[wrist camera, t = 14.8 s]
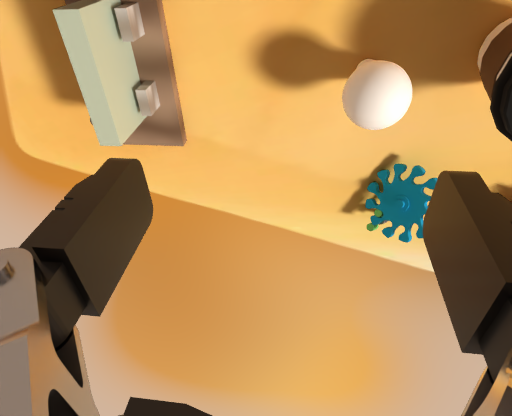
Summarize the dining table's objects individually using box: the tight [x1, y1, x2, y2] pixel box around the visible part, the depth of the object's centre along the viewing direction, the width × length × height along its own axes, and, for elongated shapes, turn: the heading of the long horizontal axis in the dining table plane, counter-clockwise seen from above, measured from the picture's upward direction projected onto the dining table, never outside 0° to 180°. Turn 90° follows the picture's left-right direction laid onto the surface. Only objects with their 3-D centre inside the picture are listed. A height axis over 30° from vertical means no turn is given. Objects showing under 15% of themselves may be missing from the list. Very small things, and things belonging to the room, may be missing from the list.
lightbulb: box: [342, 59, 412, 130], centre depth 35 cm, size 6×6×11 cm
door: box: [53, 0, 147, 146], centre depth 37 cm, size 13×4×8 cm, turn 2°
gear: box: [365, 164, 437, 242], centre depth 47 cm, size 11×6×10 cm
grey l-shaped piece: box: [65, 0, 187, 146], centre depth 37 cm, size 22×10×12 cm, turn 2°
